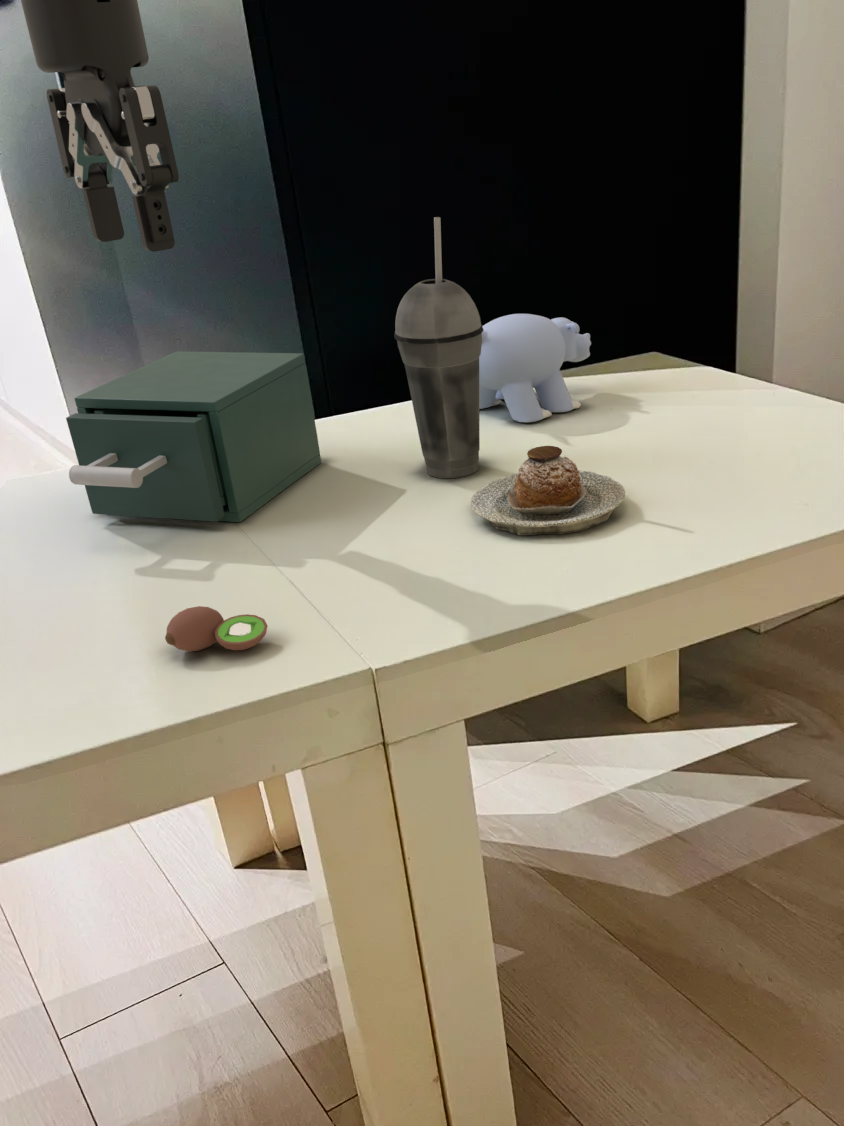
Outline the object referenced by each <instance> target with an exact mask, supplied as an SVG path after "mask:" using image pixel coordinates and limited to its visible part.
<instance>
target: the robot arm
mask: <svg viewBox="0 0 844 1126" xmlns="http://www.w3.org/2000/svg"><path fill="white" fill-rule="evenodd" d="M20 4H21V7H22V11H23V15H24V18H25V23H26V27H27V31H28V36H29V39H30V43H31V47H32V52H33V55H34V59H35V63H36V66H37V68H38V69H39V70H40V71H42V72H43V73H47V74H48V73H49V74H50V73H52V74H53V73H61V74H62V77H63V84H64V85H63V86H64V87H60V88H48V89H46V99H47V104H48V108H49V113H50V117H51V121H52V126H53V130H54V134H55V138H56V143H57V148H58V153H59V156H60V157H59V158H60V161H61V166H62V170H63V172H64V175H65V176H66V178H68V179H71V178H72V179H73V178H74V181H75V184H76V186H77V187H78V189H82V194H83V198H84V203H85V206H86V210H87V214H88V218H89V219H88V220H89V223H90V228H91V232H92V235H93V238H94V239H95V240H96V241H97V242H103V243H105V242H112V241H119V240H122V239H123V238H124V236H125V230H124V226H123V225H124V224H123V221H122V217H121V212H120V209H119V203H118V198H117V194H116V190H115V187H114V186H111V185H113V176H114V168H115V169H118V170H119V171H120V172H121V174H122V175H123V177H124V179H125V181H126V183H127V186H128V188H129V189H130V191H131V194H133V195H131V199H132V204H133V208H134V212H135V217H136V221H137V226H138V231H139V235H140V241H141V244H142V247H143V248H144V250H146V251H147V252H152V253H153V252H154V253H155V252H159V251H167V250H171V249H173V248H174V247H175V244H176V241H175V236H174V230H173V227H172V221H171V216H170V212H169V207H168V202H167V197H166V193H165V192H167V191H169V189H170V184H173V183H177V182H179V180H180V175H179V170H178V165H177V161H176V156H175V152H174V148H173V144H172V143H173V142H172V138H171V134H170V130H169V129H170V128H169V125H168V121H167V116H166V112H165V108H164V103H163V100H162V99H163V97H162V94H161V90H160V88H159V87H158V86H157V85H153V84H152V85H136V84H135V81H134V77H133V75H132V71H131V70H132V68H143V67H145V66H147V64H148V62H149V52H148V46H147V42H146V38H145V37H146V36H145V32H144V27H143V21H142V17H141V13H140V7H139V3H138V0H20ZM159 156H160V160H161V162H160V160H159V159H158V157H159Z"/></svg>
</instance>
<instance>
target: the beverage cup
mask: <svg viewBox="0 0 844 1126" xmlns="http://www.w3.org/2000/svg"><path fill="white" fill-rule="evenodd" d="M441 224H442V223H441V217H440V216H435V217H433V229H434V231H433V233H434V235H433V237H434V270H435V272H434V273H435V278H430V279H429V278H428V279H423V280H421V281H419V282H417V283H416V284H414V285H413V286H412V287H411V288H409V289H408V290H407V292H406V293H405V294H403V297H402V298H401V300H400V302H399V304H398V307H397V308H396V309H397V310H396V315H395V322H394V323H395V324H394V327H395V330H394V335H393V336H394V339H395V340H396V343H397V348H398V351H399V354H400V357H401V360H402V363H403V364H404V368H405V373H406V378H407V382H408V383H407V384H408V388H409V393H410V397H411V403H412V408H413V412H414V418H415V422H416V423H415V424H416V428H417V432H418V433H417V434H418V438H419V443H420V449H421V453H422V456H423V458H424V463H425V466H426V473H427V475H429V476H430V477H434V478H439V479H456V478H462V477H466V476H469V475H472V474H474V473H476V472H477V471H478V470H479V459H480V450H481V449H480V444H481V443H480V409H479V356H480V355H481V346H482V332H483V327H482V326H483V324H482V321H481V316H480V312H479V310H478V308H477V306H476V305H477V304H476V303H475V302H474V300H473V299H472V297H471V295H470V294H469V293H468V292H467V291H466V289H464V288H463V287H462V286H461V285H459V284H458V283H456V282H455V281H453V280H452V281H451V280H450V279H449V280H448V279H446V278H443V263H442V259H443V258H442V230H441V229H442V226H441Z"/></svg>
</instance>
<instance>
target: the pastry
mask: <svg viewBox="0 0 844 1126" xmlns="http://www.w3.org/2000/svg"><path fill="white" fill-rule="evenodd" d="M562 454H563V450H562V448H560V447H559V446H556V445H555V446H554V445H540V446H535V447H532V448H530V449H529V450H527V453H526V455H527V457H528V458H527V459H526V460H524V461H523V462H522V463H521V465H520V467H519V468H518V472H517V473H515V474H511V475H507V476H504V477H501V478H498V479H496V480H494V481H491V482H490V483H488V484H485V485H484V486H482V487H480V488H479V489H478V490H477V491H476V492H475V493H474V494H473V495H472V497H471V499H470V507H471V509H472V511H473V512H475V514H476V515H478V516H480V517H481V518H483V519H486V520H487V521H489V525H490V526H493V527H494V528H495V529H496V530H499V531H500V530H501V531H506V532H510V534H516V535H518V536H538V535H551V534H553V535H554V534H559V535H565V534H572V533H580V532H583V531H585V530H588V529H590V528H591V527H596V526H597V525H600V524H601V523H603V522H606V521H608V520H609V518H610V516H611V514H612V513H613V512H614V510H616V508H618V507H619V506H620V505H621V504H622V503H623V501H624V499H625V497H626V490H625V488H624V486H623V485H622V484H621V483H620V482H618V481H616V480H615V479H613V478H612V477H611V476H608V475H604V474H599V473H596V472H594V471H587V470H579V468H578V466H577V464H576V463H575V462H574V461H573V460H572V459H570V458H569V457H567V456H564V457H562V456H561V455H562Z"/></svg>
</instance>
